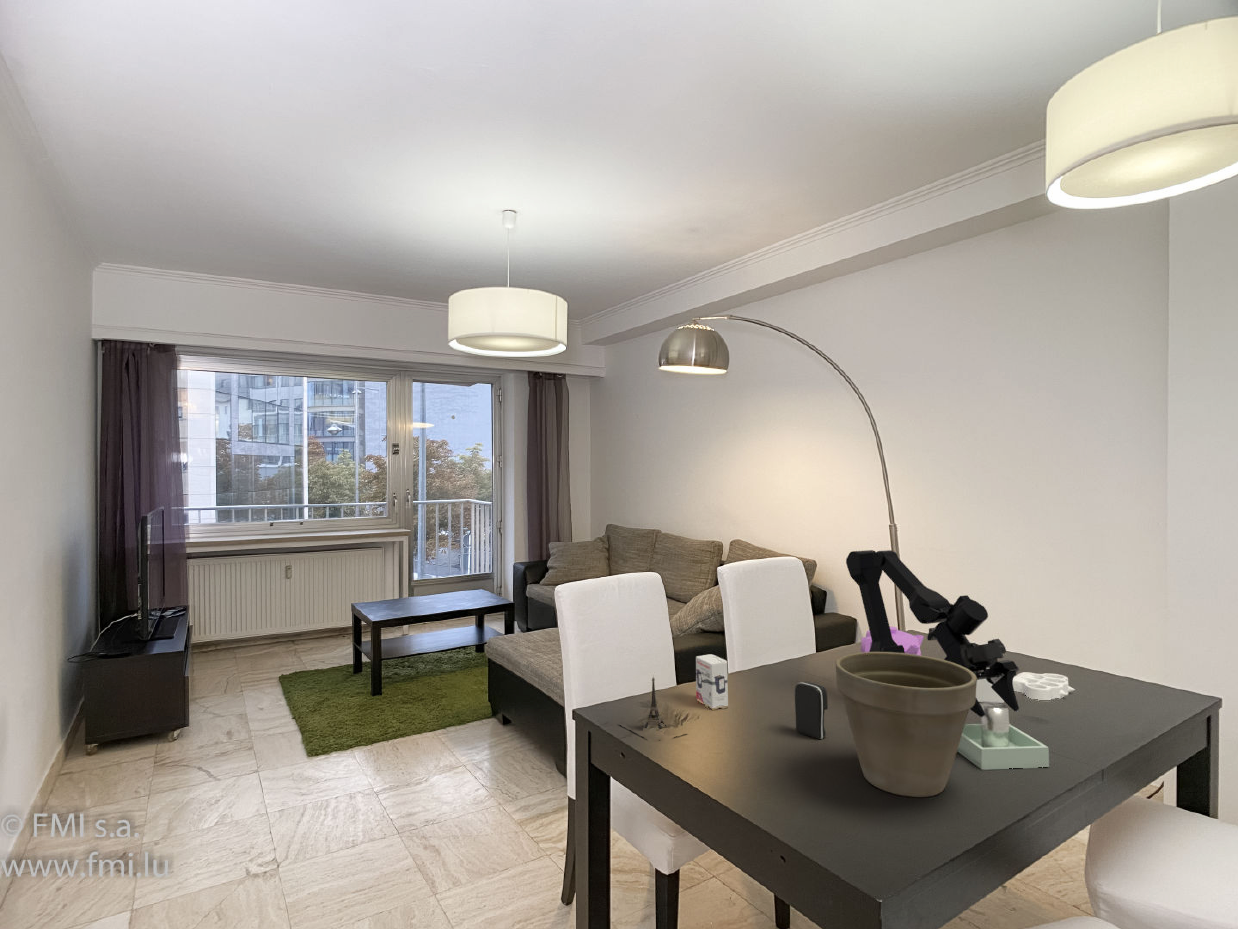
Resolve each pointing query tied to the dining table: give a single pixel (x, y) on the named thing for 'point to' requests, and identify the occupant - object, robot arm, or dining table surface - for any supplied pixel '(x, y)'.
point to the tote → (1003, 750)
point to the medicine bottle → (987, 689)
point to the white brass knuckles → (1041, 685)
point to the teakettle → (897, 641)
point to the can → (995, 725)
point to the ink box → (711, 680)
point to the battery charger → (810, 709)
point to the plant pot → (905, 717)
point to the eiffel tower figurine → (654, 717)
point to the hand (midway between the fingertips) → (1000, 713)
